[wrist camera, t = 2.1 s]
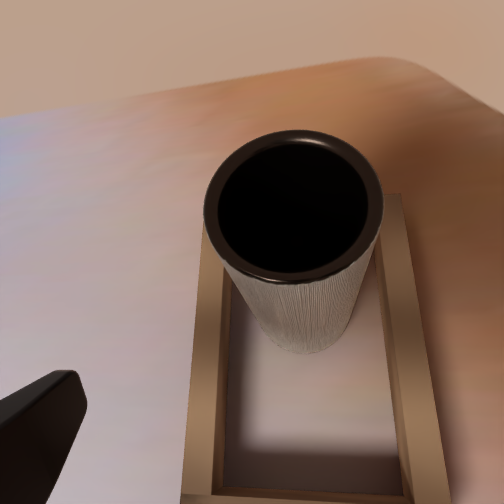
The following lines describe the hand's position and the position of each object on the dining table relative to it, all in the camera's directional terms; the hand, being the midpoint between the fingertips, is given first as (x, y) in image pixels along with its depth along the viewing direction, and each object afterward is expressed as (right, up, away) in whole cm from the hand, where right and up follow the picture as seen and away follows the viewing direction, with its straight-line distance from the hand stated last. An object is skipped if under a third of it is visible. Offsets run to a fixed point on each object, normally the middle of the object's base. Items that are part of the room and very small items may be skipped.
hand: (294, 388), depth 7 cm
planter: (+2, 0, +12) cm, 12 cm away
